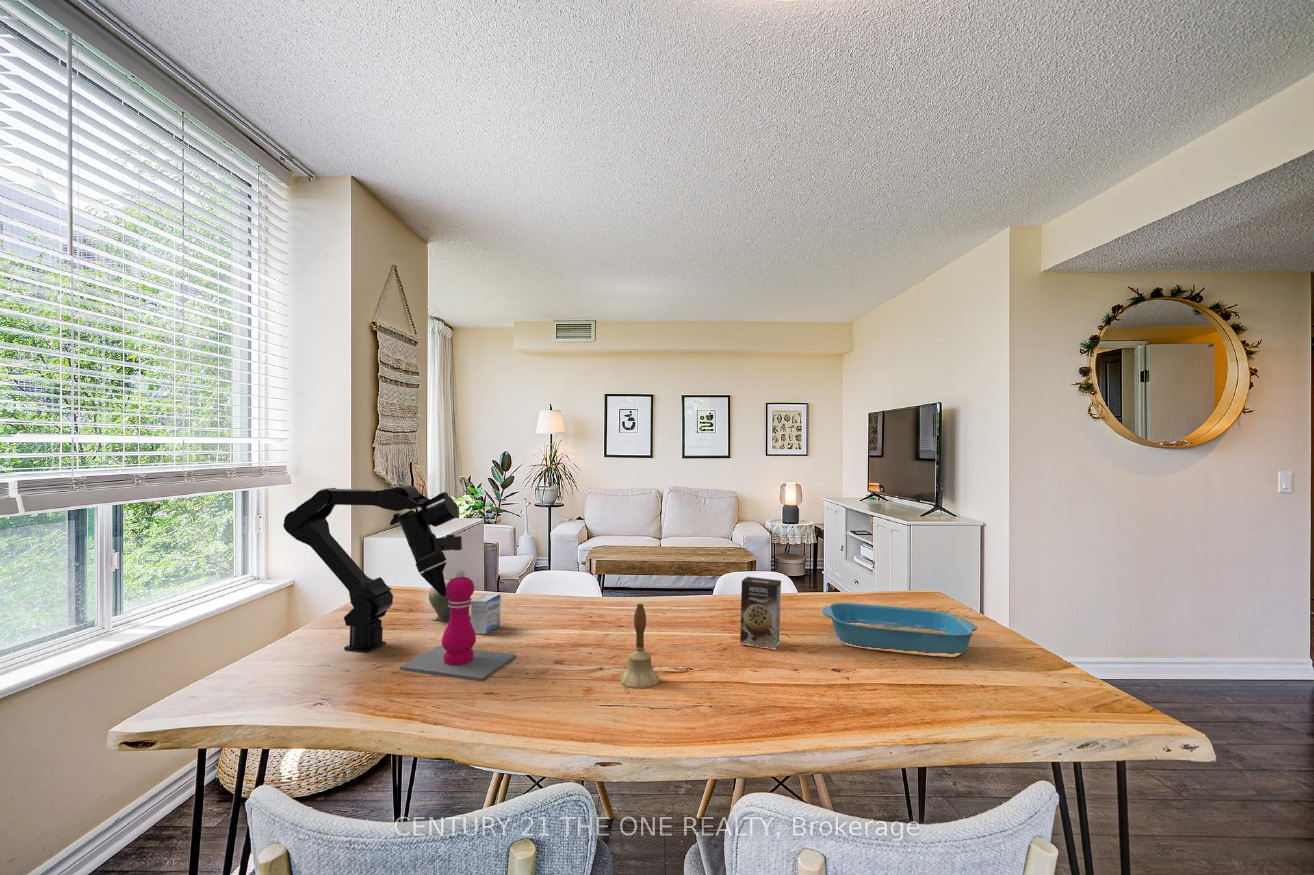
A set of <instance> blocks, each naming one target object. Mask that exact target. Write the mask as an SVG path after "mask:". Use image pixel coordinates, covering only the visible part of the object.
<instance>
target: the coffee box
mask: <svg viewBox="0 0 1314 875" xmlns="http://www.w3.org/2000/svg"><path fill="white" fill-rule="evenodd" d="M781 592H782V581H781V580H780V579H770V578H763V577H761V578H760V577H754V576H746V577H745V578H744V579H742V580H741V593H740V594H741V599H740V602H741V604H740V633H739V634H740V636H739V637H740V638H739V644H740V643H741V644H750V645H754V646H759V647H768V648H776V647H777V644H778V642H780V630H781V629H780V627H781V626H780V624H781V618H780V617H781V595H782V594H781ZM777 648H778V647H777ZM777 648H776V649H777Z"/></svg>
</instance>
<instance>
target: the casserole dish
mask: <svg viewBox="0 0 1314 875" xmlns="http://www.w3.org/2000/svg"><path fill="white" fill-rule="evenodd" d="M821 611H822V614H823V615H824V616H825V617H827V618H830V619H831V622H832V625H833V626H832V627H833V628H834V632H835V633H836V634H835V635H836V636H837V637H838V640H840V641H841V642H842V641H843V642H842V643H844V642H845V643H848V644H852V645H856V646H861V647H871V648H881V649H895V650H903V651H917V652H925V653H947V654H955V653H963V652H964V653H965V652H966V650H967V648H968V646H969V643H970V641H971V638H972V635H973V632H976V631H977V629H978V628H977V626H976V625H975V624H974V623H973V622H972V621H969V620H967V619H965V618H961V617H959V616H957V615H954V614H953V613H952V614H951V613H947V612H943V611H936V610H929V609H923V608H922V609H920V608H912V607H901V606H900V607H899V606H890V605H877V604H868V603H867V604H865V603H854V602H834V603H831V604H830V605H829V606H826V607H823V608H822V610H821ZM849 623H863V624H870V625H884V626H892V627H911V628H918V629H931V630H936V631H944V632H945V633H947V634H941V633H930V632H919V631H909V630H898V629H887V628H877V627H868V626H861V625H854V624H849ZM845 643H844V644H845ZM964 653H963V654H964Z"/></svg>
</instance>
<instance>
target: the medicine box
mask: <svg viewBox="0 0 1314 875" xmlns="http://www.w3.org/2000/svg"><path fill="white" fill-rule="evenodd" d="M501 595H502V594H500V593H485V594H483V595H481V596H479V597H477V598H475V599H473V600H471V603H472V604H471V605H470V621H471V624H472V626H473V628H474V631H475V634H476V635H483V634H486V635H488V634H489V633H491V632H492V631H494V630H495V629H497V628H498V627H500V626H501ZM496 627H497V628H496ZM493 629H494V630H493ZM490 631H491V632H490ZM487 633H488V634H487Z"/></svg>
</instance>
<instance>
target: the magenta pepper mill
mask: <svg viewBox="0 0 1314 875" xmlns="http://www.w3.org/2000/svg"><path fill="white" fill-rule="evenodd" d="M451 579H452V580H450V581H449V582H448V584H447V587H446V594H447V596H448V597H449V598H450V599H449V600H448V602H449V604H448V607H450V620H449V621H448V624H447V625H446V627H445V629H444V632H443V634H442V638H441V645H442V646H443V648H444V649H445V650H446V652H445V653H444V663H445V664H448V665H461V664H466V663H468V662H470V661H472V660H473V650H472V649H473V647H474V646H475V644H476V641H477V636H476V635H477V634H475V631H474V628H473V626H472V624H471V616H470V608H471V604H472V603H471V601H473V600H472V598H471V597H472V595H473V594H474V591H475V583H474V581H473V580H472V579H471V578H469V577H466V573H465V571H464V570H463V569H459V570H457V572H456V577H454V578H451Z"/></svg>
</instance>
